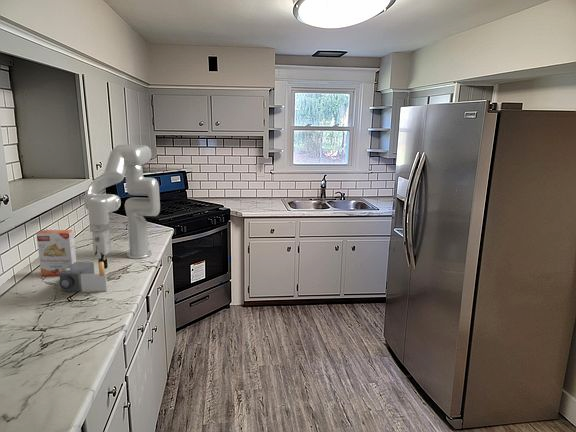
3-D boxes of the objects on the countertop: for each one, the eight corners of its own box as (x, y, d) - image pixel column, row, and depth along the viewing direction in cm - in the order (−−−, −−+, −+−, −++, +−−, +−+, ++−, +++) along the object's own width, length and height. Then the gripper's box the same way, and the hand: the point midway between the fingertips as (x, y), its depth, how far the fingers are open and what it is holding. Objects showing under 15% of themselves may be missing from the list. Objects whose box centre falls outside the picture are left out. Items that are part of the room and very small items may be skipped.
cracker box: (40, 276, 186) (35, 233, 181) (46, 271, 192) (41, 229, 187) (73, 275, 188) (68, 232, 183) (77, 271, 194) (73, 229, 189)
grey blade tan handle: (107, 290, 174) (105, 261, 171) (105, 292, 172) (103, 263, 168) (80, 290, 172) (77, 261, 169) (78, 293, 170) (75, 263, 167)
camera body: (77, 278, 186) (75, 260, 184) (94, 278, 186) (93, 260, 184) (57, 293, 170) (55, 273, 168) (76, 293, 170) (74, 274, 168)
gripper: (104, 232, 163) (108, 274, 167) (113, 222, 177) (116, 261, 181) (84, 232, 161) (88, 275, 166) (95, 222, 175) (98, 262, 180)
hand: (103, 268), depth 174 cm, fingers closed
